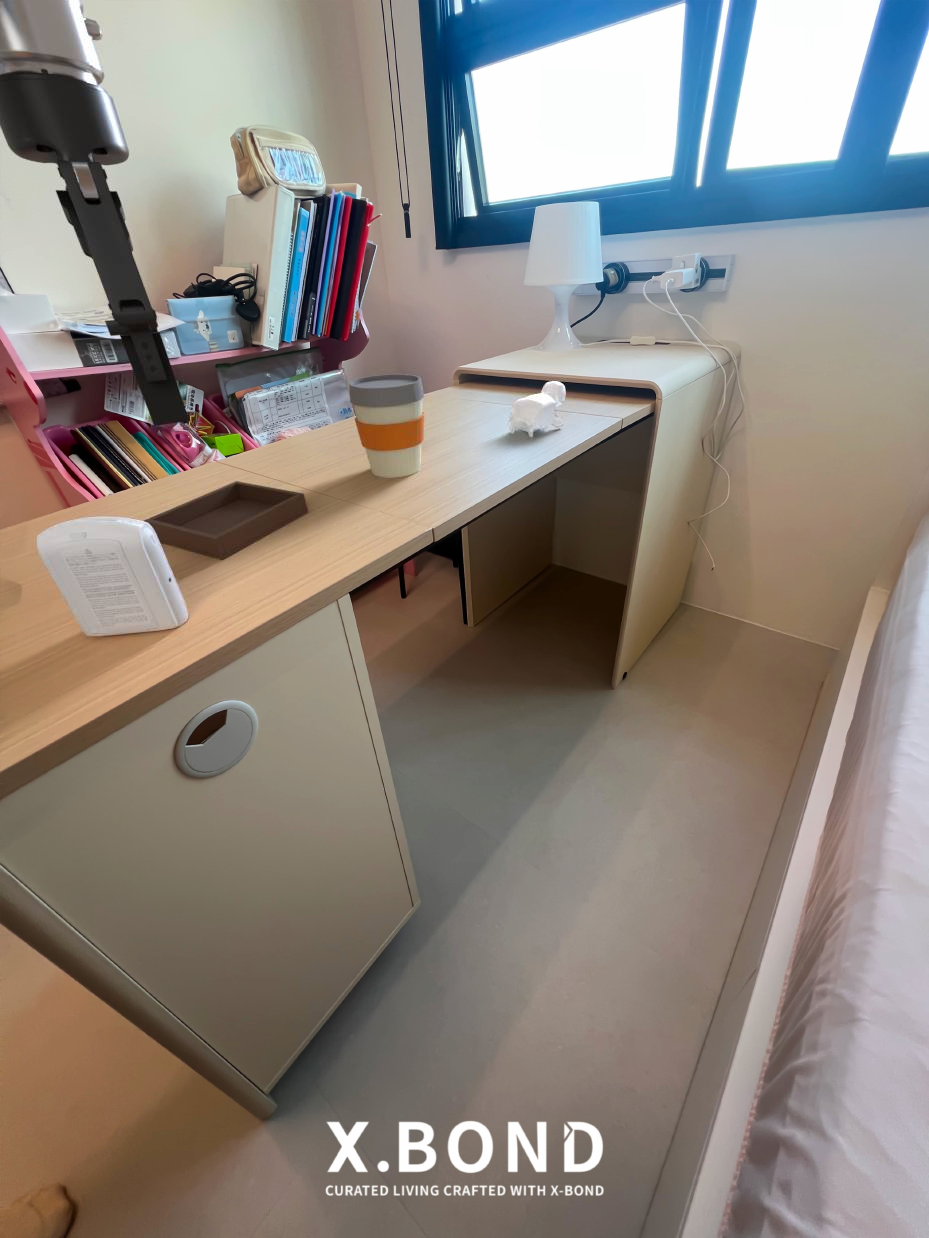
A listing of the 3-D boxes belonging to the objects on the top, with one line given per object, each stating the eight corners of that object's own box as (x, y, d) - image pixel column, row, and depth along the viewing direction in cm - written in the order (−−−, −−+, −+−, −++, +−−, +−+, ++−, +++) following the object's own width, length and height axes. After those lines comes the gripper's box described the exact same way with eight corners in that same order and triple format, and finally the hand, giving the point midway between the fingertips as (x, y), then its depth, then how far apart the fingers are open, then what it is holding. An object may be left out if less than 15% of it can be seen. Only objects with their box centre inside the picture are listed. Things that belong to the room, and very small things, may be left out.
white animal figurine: (540, 451, 107) (579, 410, 112) (532, 415, 101) (574, 374, 106) (509, 444, 112) (547, 405, 117) (500, 410, 106) (541, 370, 111)
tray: (222, 560, 66) (214, 538, 65) (151, 540, 72) (143, 520, 70) (308, 512, 78) (304, 493, 76) (242, 499, 84) (236, 480, 82)
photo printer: (195, 608, 57) (151, 505, 50) (183, 631, 54) (134, 523, 46) (99, 618, 56) (41, 515, 49) (81, 642, 53) (15, 534, 45)
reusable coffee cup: (409, 454, 100) (400, 371, 91) (443, 470, 91) (436, 380, 83) (350, 468, 94) (335, 381, 86) (380, 487, 86) (367, 392, 77)
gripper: (112, 26, 27) (230, 429, 40) (107, 126, 45) (190, 383, 57) (-64, 3, 24) (123, 446, 37) (4, 120, 42) (115, 392, 54)
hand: (164, 408), depth 47 cm, fingers open, 13 cm apart
